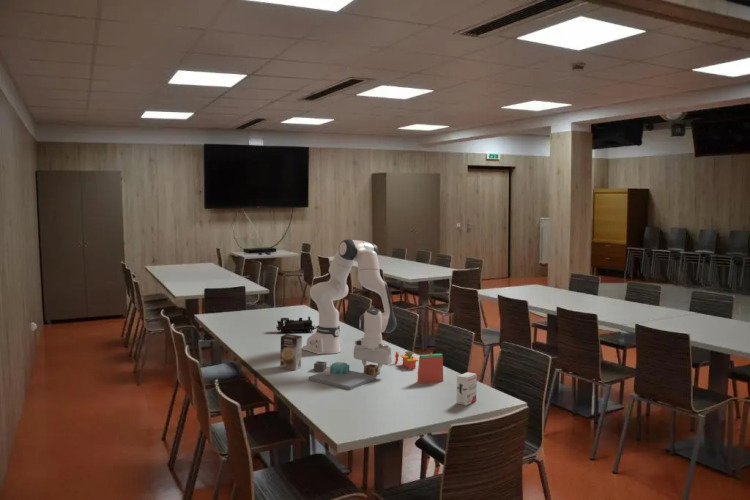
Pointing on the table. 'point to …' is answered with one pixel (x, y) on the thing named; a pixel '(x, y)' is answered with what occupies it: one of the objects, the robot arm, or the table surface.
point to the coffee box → (290, 352)
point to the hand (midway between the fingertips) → (372, 370)
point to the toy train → (295, 325)
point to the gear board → (341, 376)
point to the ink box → (466, 388)
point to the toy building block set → (424, 366)
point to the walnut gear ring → (371, 369)
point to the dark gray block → (320, 366)
